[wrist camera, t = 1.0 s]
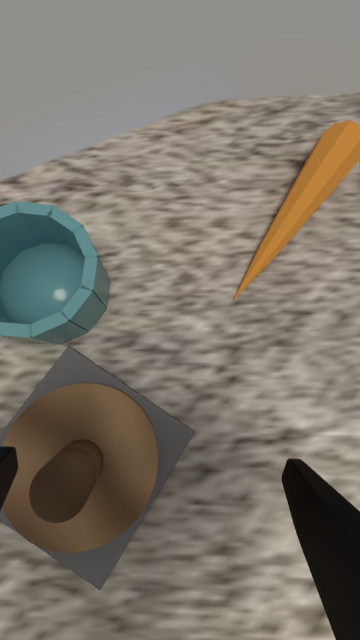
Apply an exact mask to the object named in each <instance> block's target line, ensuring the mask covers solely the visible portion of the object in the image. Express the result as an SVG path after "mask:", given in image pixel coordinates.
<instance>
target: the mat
mask: <svg viewBox="0 0 360 640" xmlns="http://www.w3.org/2000/svg"><path fill="white" fill-rule="evenodd" d="M79 383H98V384H104V385H108V386H111V387H114V388H116V389H118V390H120V391H122V392H124V393H126V394H127V395H129V396H130V397H131V398H132V399H134V400H135V401H136V402H137V403H138V404H139V405H140V406H141V408H142V409H143V410H144V412H145V413H146V415H147V416H148V418H149V420H150V422H151V424H152V427H153V429H154V432H155V436H156V440H157V448H158V469H157V477H156V481H155V485H154V488H153V491H152V493H151V496H150V498H149V500H148V502H147V504H146V506H145V508H144V509H143V511H142V512H141V514H140V515H139V517H138V518H137V519H136V520H135V521H134V522H133V524H132V525H131V526H130V527H129V528H128V529H127V530H125V531H124V532H123V533H122V534H121V535H119V536H118V537H116V538H115V539H114V540H112V541H110V542H108V543H106V544H104V545H103V546H100V547H97V548H95V549H92V550H88V551H83V552H76V553H62V552H55V551H50V550H46V549H44V548H41V547H39V546H38V547H39V548H40V549H42V550H43V551H45V552H46V553H48V554H49V555H50V556H52V557H53V558H55V559H56V560H58V561H59V562H60V563H62V564H63V565H65V566H66V567H68V568H69V569H70V570H72V571H73V572H75V573H76V574H78V575H79V576H80V577H82V578H83V579H85V580H86V581H88V582H89V583H90V584H92V585H93V586H95V587H96V588H98V589H99V590H101V588H102V586H103V585H104V583H105V581H106V580H107V578H108V576H109V575H110V573H111V571H112V570H113V568H114V566H115V565H116V563H117V561H118V560H119V558H120V556H121V554H122V553H123V551H124V549H125V548H126V546H127V544H128V543H129V541H130V539H131V538H132V536H133V534H134V533H135V531H136V529H137V528H138V526H139V524H140V523H141V521H142V519H143V518H144V516H145V514H146V513H147V511H148V509H149V508H150V506H151V504H152V503H153V501H154V499H155V498H156V496H157V494H158V493H159V491H160V489H161V488H162V486H163V484H164V483H165V481H166V479H167V477H168V476H169V474H170V472H171V471H172V469H173V467H174V466H175V464H176V462H177V461H178V459H179V457H180V456H181V454H182V452H183V451H184V449H185V447H186V446H187V444H188V442H189V441H190V439H191V437H192V436H193V434H194V431H193V430H191V429H190V428H189V427H187V426H186V425H184V424H183V423H181V422H180V421H178V420H177V419H175V418H174V417H172V416H171V415H169V414H168V413H167V412H165V411H164V410H162V409H161V408H159V407H158V406H156V405H155V404H153V403H152V402H150V401H149V400H148V399H146V398H145V397H143V396H142V395H140V394H139V393H137V392H136V391H134V390H133V389H131V388H130V387H128V386H127V385H126V384H124V383H123V382H121V381H120V380H118V379H117V378H115V377H114V376H112V375H111V374H109V373H108V372H106V371H105V370H104V369H102V368H101V367H99V366H98V365H96V364H95V363H93V362H92V361H90V360H89V359H87V358H86V357H84V356H83V355H82V354H80V353H79V352H77V351H76V350H74V349H73V348H71V347H70V346H68V347H67V349H66V350H65V351H64V352H63V354H62V355H61V356H60V358H59V359H58V360H57V361H56V363H55V364H54V365H53V367H52V368H51V369H50V371H49V372H48V373H47V374H46V376H45V377H44V378H43V380H42V381H41V382H40V384H39V385H38V386H37V387H36V389H35V390H34V391H33V393H32V394H31V395H30V396H29V398H28V399H27V400H26V402H25V403H24V404H23V406H22V407H21V408H20V409H19V411H18V412H17V413H16V415H15V416H14V417H13V419H12V420H11V421H10V422H9V424H8V425H7V426H6V428H5V429H4V430H3V431H2V433H1V434H0V447H1V446H2V445H3V442H4V439H5V437H6V435H7V433H8V432H9V430H10V428H11V427H12V425H13V424H14V422H15V421H16V419H17V418H18V417H19V416H20V415H21V413H22V412H23V411H24V410H25V409H26V408H27V407H28V406H30V405H31V404H32V403H33V402H34V401H36V400H37V399H39V398H40V397H42V396H43V395H45V394H47V393H49V392H51V391H53V390H56V389H58V388H61V387H64V386H68V385H72V384H79ZM0 521H2V522H3V523H5V524H6V525H8V526H9V527H10V528H12V529H13V530H15V531H16V532H18V531H17V530H16V529H15V528H14V527H13V526H12V524H11V523H10V521H9V520H8V518H7V517H6V515H5V513H4V510H3V508H2V509H1V511H0ZM20 535H21V534H20ZM36 546H37V545H36Z"/></svg>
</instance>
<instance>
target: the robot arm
mask: <svg viewBox="0 0 360 640" xmlns="http://www.w3.org/2000/svg"><path fill="white" fill-rule="evenodd" d="M17 471H18V459H17V452H16V448H15V447H13V446H1V447H0V511H1V509H2V506H3V504H4V502H5V499H6V497H7V495H8V492H9V490H10V488H11V485H12V483H13V481H14V479H15V476H16V474H17ZM282 483H283V487H284V491H285V494H286V498H287V501H288V505H289V509H290V512H291V516H292V519H293V523H294V527H295V530H296V533H297V536H298V539H299V542H300V545H301V547H302V550H303V553H304V555H305V558H306V561H307V563H308V566H309V569H310V571H311V574H312V577H313V579H314V582H315V585H316V588H317V590H318V593H319V596H320V598H321V601H322V604H323V606H324V609H325V612H326V614H327V617H328V620H329V622H330V625H331V628H332V630H333V633H334V636H335V639H336V640H360V511H359V510H357V509H356V508H355V507H354V506H353V505H352V504H351V503H350V502H348V501H347V500H346V499H345V498H344V497H343V496H342V495H341V494H339V493H338V492H337V491H336V490H335V489H334V488H333V487H332V486H330V485H329V484H328V483H327V482H326V481H325V480H324V479H323V478H321V477H320V476H319V475H318V474H317V473H316V472H315V471H314V470H312V469H311V468H310V467H309V466H308V465H307V464H306V463H305V462H303V461H302V460H301V459H293V458H290V459H288V460H287V462H286V465H285V468H284V471H283V474H282Z"/></svg>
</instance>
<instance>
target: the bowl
mask: <svg viewBox="0 0 360 640" xmlns="http://www.w3.org/2000/svg"><path fill="white" fill-rule="evenodd" d="M109 286H110V279H109V277H108V275H107V273H106V271H105V269H104V267H103V265H102V263H101V260H100V258H99V256H98V254H97V252H96V250H95V248H94V246H93V244H92V242H91V240H90V238H89V236H88V234H87V232H86V230H85V228H84V226H83V225H82V224H81V223H79V222H78V221H76V220H75V219H73V218H72V217H70V216H69V215H67V214H66V213H64V212H63V211H61V210H60V209H58V208H57V207H55V206H53V205H44V204H36V203H27V202H18V201H17V202H13V203H10V204H7V205H4V206H1V207H0V337H4V338H9V339H14V340H19V341H24V342H29V343H43V344H58V345H60V344H63V343H65V342H67V341H70V340H72V339H74V338H76V337H79V336H81V335H83V334H85V333H87V332H88V331H90V330H91V328H92V327H93V326H94V325H95V323H96V322H97V321H98V319H99V318H100V317H101V315H102V314H103V313H104V311H105V310H106V308H107V303H108V295H109ZM105 307H106V308H105Z"/></svg>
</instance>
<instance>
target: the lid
mask: <svg viewBox="0 0 360 640" xmlns="http://www.w3.org/2000/svg"><path fill="white" fill-rule="evenodd" d="M2 446H13V447H15V448H16V452H17V459H18V471H17V474H16V476H15V479H14V481H13V483H12V485H11V488H10V490H9V492H8V495H7V497H6V499H5V502H4V504H3V506H2V508H3V510H4V513H5V515H6V517H7V518H8V520H9V521H10V523H11V524H12V526H13V527H14V528H15V529H16V530H17V531H18V533H19V534H21V535H22V536H23V537H24V538H26V539H27V540H28V541H30V542H31V543H33V544H35V545H37V546H39V547H41V548H44V549H46V550H50V551H55V552H62V553H76V552H83V551H88V550H92V549H95V548H97V547H100V546H103V545H104V544H106V543H108V542H110V541H112V540H114V539H115V538H116V537H118V536H119V535H121V534H122V533H123V532H124V531H125V530H127V529H128V528H129V527H130V526H131V525H132V524H133V522H134V521H135V520H136V519H137V518H138V517H139V515H140V514H141V512H142V511H143V509H144V508H145V506H146V504H147V502H148V500H149V498H150V496H151V493H152V491H153V488H154V485H155V481H156V477H157V469H158V448H157V440H156V436H155V432H154V429H153V427H152V424H151V422H150V420H149V418H148V416H147V415H146V413H145V412H144V410H143V409H142V408H141V406H140V405H139V404H138V403H137V402H136V401H135V400H134V399H132V398H131V397H130V396H129V395H127V394H126V393H124V392H122V391H120V390H118V389H116V388H114V387H111V386H108V385H104V384H98V383H79V384H72V385H68V386H64V387H61V388H58V389H56V390H53V391H51V392H49V393H47V394H45V395H43V396H42V397H40V398H39V399H37V400H36V401H34V402H33V403H32V404H31V405H30V406H28V407H27V408H26V409H25V410H24V411H23V412H22V413H21V415H20V416H19V417H18V418H17V419H16V421H15V422H14V424H13V425H12V427H11V428H10V430H9V432H8V433H7V435H6V437H5V439H4V442H3V445H2Z"/></svg>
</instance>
